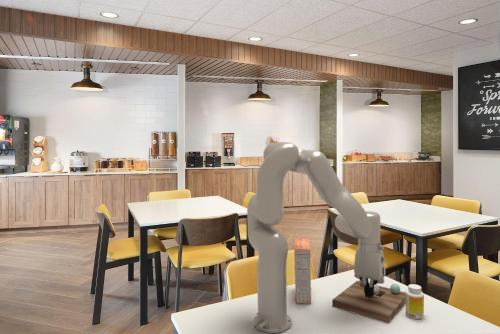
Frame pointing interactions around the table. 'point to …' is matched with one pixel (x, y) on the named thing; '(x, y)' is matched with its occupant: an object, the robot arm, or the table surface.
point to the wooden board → (370, 302)
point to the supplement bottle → (414, 302)
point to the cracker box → (302, 271)
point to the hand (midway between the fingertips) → (369, 296)
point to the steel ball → (376, 289)
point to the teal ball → (395, 288)
